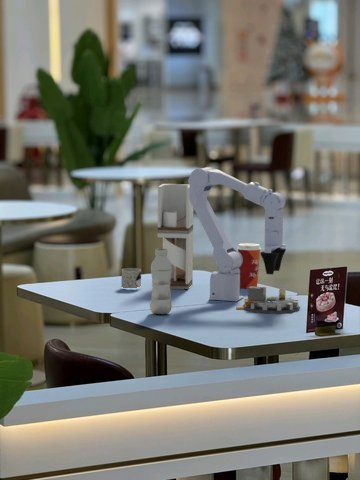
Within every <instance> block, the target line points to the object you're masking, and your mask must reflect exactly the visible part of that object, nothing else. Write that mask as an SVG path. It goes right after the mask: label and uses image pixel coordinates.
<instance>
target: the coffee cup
mask: <svg viewBox="0 0 360 480" xmlns="http://www.w3.org/2000/svg"><path fill="white" fill-rule="evenodd" d="M236 250H237V251H238V252H239V253H240V254H241V255H242V258H243V262H242V265H241V266H240V267H239V270H240V289H242V290H243V289H244V290H248V289H247V288H249V287H250V286H254V287H258V281H259V270H260V268H259V267H260V256H261V250H262V247H261V245H260V244H259V243H253V242H252V243H251V242H243V243H239V244H238V245H237V247H236Z"/></svg>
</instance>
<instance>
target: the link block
mask: <svg viewBox="0 0 360 480" xmlns="http://www.w3.org/2000/svg"><path fill="white" fill-rule="evenodd" d="M266 296H267V287H265V286H257V287H254V286H250V287H249V288H248V289H247V298H248V300H250V301H265V300H266Z"/></svg>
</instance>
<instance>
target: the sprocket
mask: <svg viewBox="0 0 360 480" xmlns="http://www.w3.org/2000/svg"><path fill="white" fill-rule="evenodd" d="M286 290H287V289H286V288H279V290H278V291H279V292H278V295H273V296H271V295H268V296H267V295H266V300H265V301H250V300H248V297H245V298H244V304H245V307H251V309H263V310H266V311H267V310H277V311H281V310H282V309H288V310H292V309H293V308H298V306H299V299H297V298H293V299H292V297H290V296H286V293H287V292H286Z"/></svg>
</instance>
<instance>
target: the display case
mask: <svg viewBox="0 0 360 480" xmlns="http://www.w3.org/2000/svg"><path fill="white" fill-rule="evenodd" d="M157 238H162V248H164V249H167V250H168V255H167V258H168V259H169V260H170V262H171V263H172V273H171V280H170V290H172V289H189V290H190V288H191V287H192V286H193V278H194V277H193V274H194V272H193V269H194V268H193V267H194V265H193V264H194V260H193V259H194V257H193V256H194V208H193V206H192V204H191V202H190V199H189V183H187V184H181V183H162V184H160V185H158V186H157ZM191 285H192V286H191ZM190 286H191V287H190ZM189 287H190V288H189Z"/></svg>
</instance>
